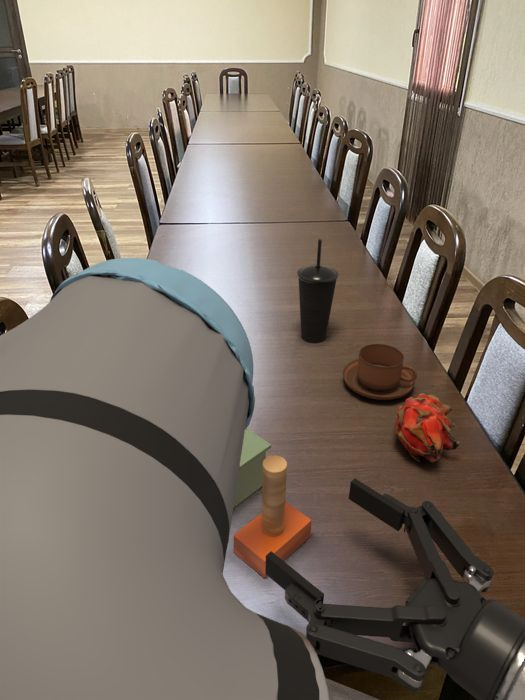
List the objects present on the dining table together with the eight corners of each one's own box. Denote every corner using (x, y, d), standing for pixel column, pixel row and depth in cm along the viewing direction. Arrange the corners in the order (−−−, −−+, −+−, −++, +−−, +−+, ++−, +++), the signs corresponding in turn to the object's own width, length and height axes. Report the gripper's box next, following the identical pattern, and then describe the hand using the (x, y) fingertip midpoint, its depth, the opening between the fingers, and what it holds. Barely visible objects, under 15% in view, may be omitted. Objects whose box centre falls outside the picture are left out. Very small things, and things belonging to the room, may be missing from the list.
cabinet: (270, 483, 72) (271, 444, 69) (200, 537, 65) (197, 496, 61) (191, 428, 82) (188, 390, 78) (123, 468, 74) (116, 429, 71)
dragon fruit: (414, 425, 85) (429, 489, 76) (375, 402, 82) (385, 464, 73) (456, 396, 81) (477, 459, 72) (416, 369, 78) (433, 432, 69)
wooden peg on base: (310, 537, 65) (316, 456, 58) (264, 578, 60) (265, 496, 53) (279, 514, 68) (282, 435, 61) (233, 552, 63) (231, 470, 56)
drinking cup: (299, 348, 102) (305, 249, 92) (289, 329, 109) (293, 234, 98) (338, 344, 104) (347, 246, 93) (326, 326, 110) (333, 231, 100)
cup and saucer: (408, 368, 97) (413, 338, 94) (417, 409, 87) (424, 377, 83) (341, 364, 98) (344, 335, 95) (342, 404, 88) (346, 372, 84)
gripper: (429, 826, 38) (226, 625, 51) (556, 596, 53) (376, 486, 66) (449, 780, 34) (223, 574, 47) (579, 546, 49) (383, 439, 62)
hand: (312, 522), depth 56 cm, fingers open, 13 cm apart
